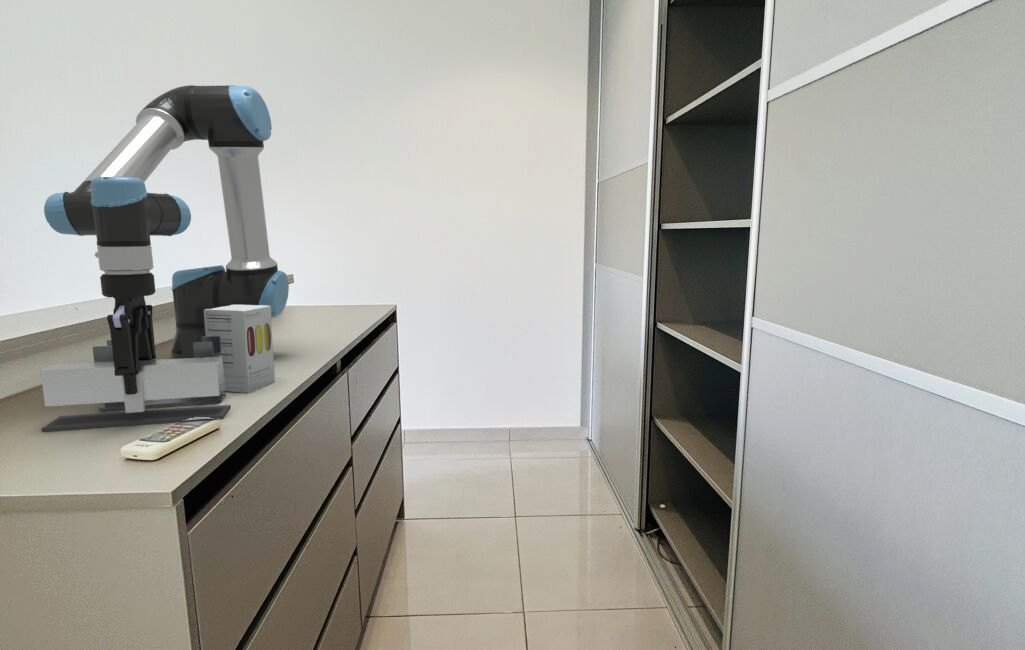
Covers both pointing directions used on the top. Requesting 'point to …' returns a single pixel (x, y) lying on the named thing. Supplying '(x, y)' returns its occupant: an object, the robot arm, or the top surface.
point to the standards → (201, 350)
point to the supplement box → (243, 345)
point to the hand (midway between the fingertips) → (140, 406)
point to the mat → (134, 418)
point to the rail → (157, 378)
